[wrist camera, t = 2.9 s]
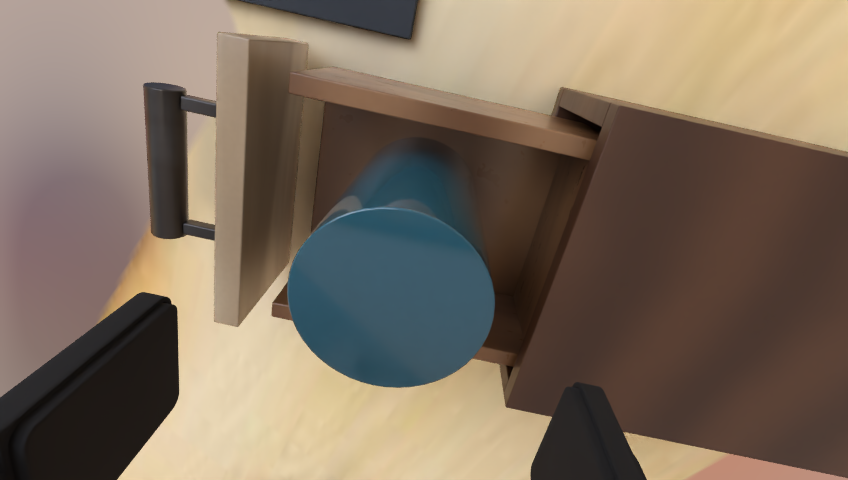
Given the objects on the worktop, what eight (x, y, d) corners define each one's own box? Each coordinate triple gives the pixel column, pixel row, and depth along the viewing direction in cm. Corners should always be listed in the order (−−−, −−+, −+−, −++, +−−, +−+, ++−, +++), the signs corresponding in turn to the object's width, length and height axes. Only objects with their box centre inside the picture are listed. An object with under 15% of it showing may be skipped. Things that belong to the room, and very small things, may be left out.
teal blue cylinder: (367, 124, 22) (295, 185, 12) (490, 151, 22) (522, 234, 12) (347, 259, 25) (276, 398, 15) (454, 282, 25) (456, 435, 15)
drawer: (200, 243, 27) (122, 303, 20) (200, 18, 21) (95, 4, 15) (515, 310, 27) (534, 389, 21) (587, 106, 22) (641, 127, 16)
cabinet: (490, 306, 28) (505, 407, 20) (560, 86, 23) (619, 105, 15) (737, 358, 29) (849, 479, 20) (865, 156, 23) (1087, 211, 15)
